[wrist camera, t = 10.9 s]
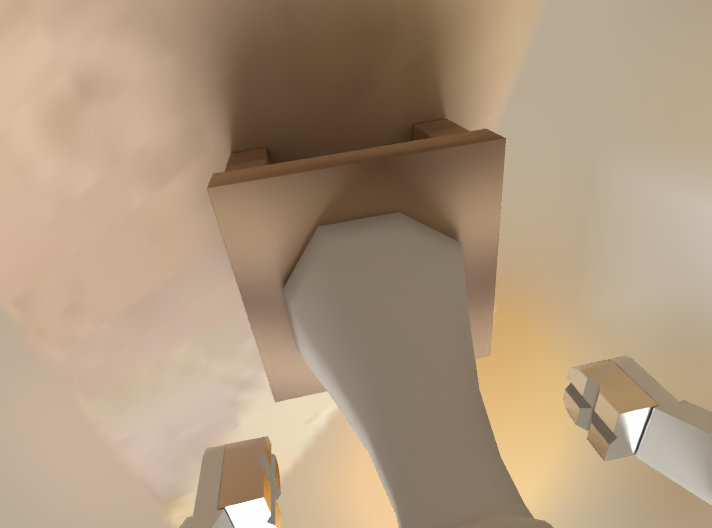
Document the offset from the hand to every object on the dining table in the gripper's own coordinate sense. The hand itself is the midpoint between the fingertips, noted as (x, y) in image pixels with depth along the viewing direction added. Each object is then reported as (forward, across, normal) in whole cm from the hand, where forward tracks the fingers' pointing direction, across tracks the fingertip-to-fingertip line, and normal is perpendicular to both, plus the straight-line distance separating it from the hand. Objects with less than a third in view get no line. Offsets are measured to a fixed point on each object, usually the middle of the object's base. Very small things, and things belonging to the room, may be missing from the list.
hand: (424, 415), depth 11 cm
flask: (+6, 0, 0) cm, 6 cm away
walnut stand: (+11, 0, 0) cm, 11 cm away
